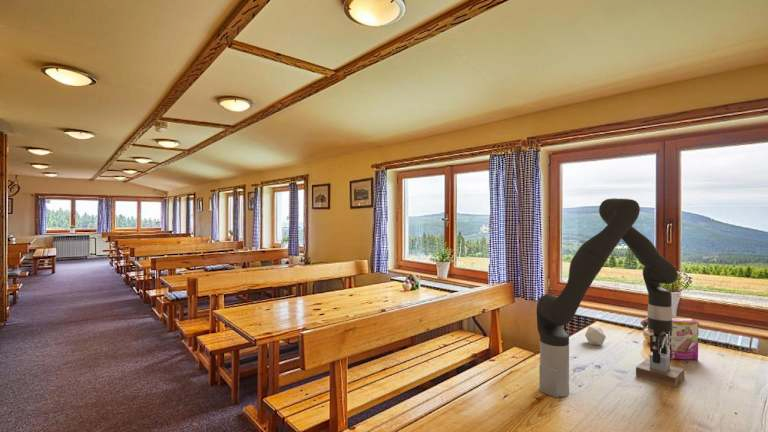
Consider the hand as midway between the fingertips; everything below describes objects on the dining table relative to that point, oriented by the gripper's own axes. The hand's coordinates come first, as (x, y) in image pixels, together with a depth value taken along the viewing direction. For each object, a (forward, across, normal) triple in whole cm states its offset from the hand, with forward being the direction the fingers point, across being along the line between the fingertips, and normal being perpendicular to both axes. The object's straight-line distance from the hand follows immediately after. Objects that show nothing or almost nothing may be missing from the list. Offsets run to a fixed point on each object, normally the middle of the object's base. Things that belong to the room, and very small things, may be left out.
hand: (659, 360), depth 138 cm
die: (+7, +19, +30) cm, 36 cm away
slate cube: (+3, 0, 0) cm, 3 cm away
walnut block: (+7, 0, 0) cm, 7 cm away
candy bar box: (+7, +29, 0) cm, 30 cm away
